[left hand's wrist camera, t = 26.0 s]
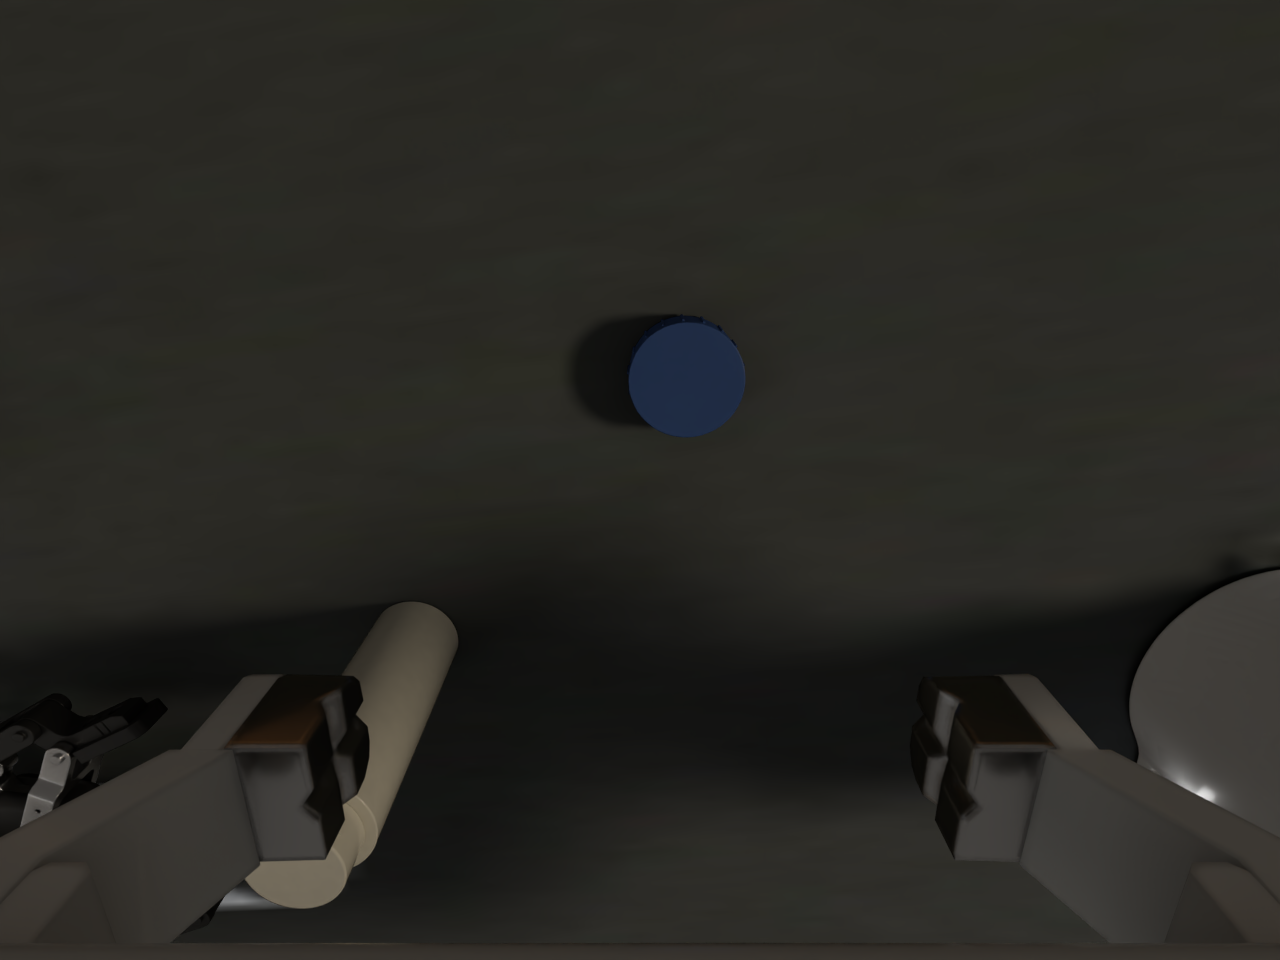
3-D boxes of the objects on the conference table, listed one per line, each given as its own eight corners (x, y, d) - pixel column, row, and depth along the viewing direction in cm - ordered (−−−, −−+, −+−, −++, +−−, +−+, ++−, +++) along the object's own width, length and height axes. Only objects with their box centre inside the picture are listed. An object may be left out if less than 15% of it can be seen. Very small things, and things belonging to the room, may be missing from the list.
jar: (445, 594, 39) (333, 811, 25) (468, 666, 41) (376, 909, 27) (362, 608, 40) (205, 831, 25) (388, 679, 41) (255, 926, 27)
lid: (605, 384, 35) (603, 395, 33) (673, 290, 34) (675, 295, 32) (694, 446, 36) (697, 460, 34) (763, 358, 35) (771, 367, 33)
